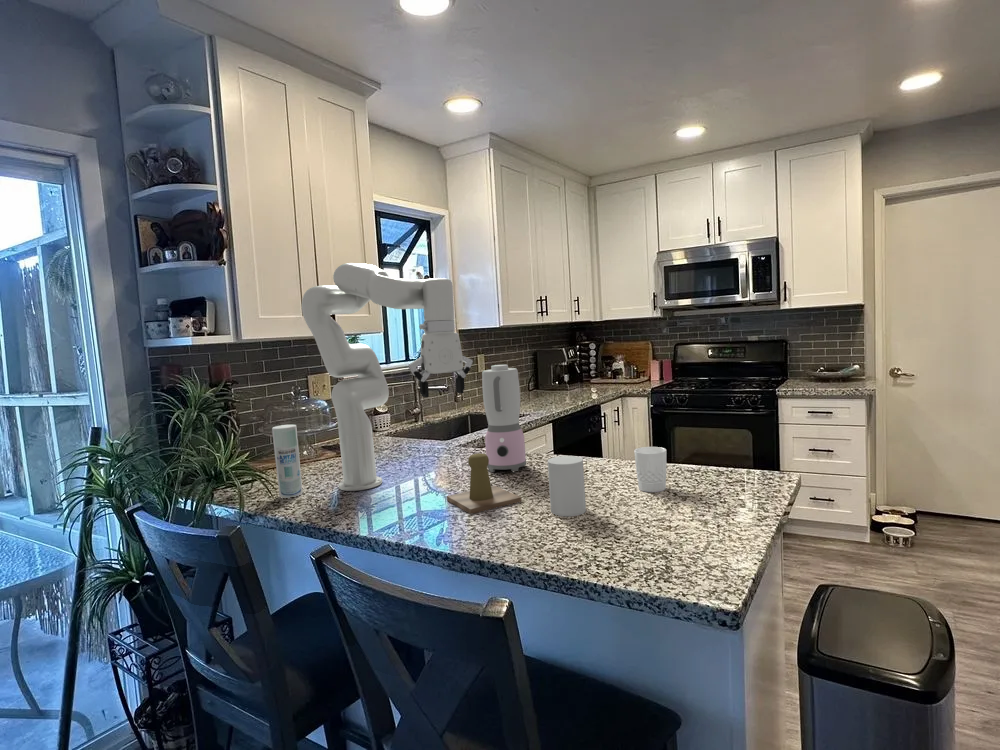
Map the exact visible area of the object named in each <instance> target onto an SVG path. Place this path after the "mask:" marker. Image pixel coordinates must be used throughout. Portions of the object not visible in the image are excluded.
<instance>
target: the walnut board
mask: <svg viewBox="0 0 1000 750" xmlns="http://www.w3.org/2000/svg"><path fill="white" fill-rule="evenodd" d="M491 488H492V493H493V497H492V498H490V499H487V500H481V501H475V500H471V499H470V490H468V491H463V492H459V493H454V494H450V495H446V501H447V502H449V503H451V505H454V506H456V507H458V508H460V509H461V510H463V511H464V512H466V513H468V514H470V515H472V514H477V513H481V511H482V512H484V511H485V510H486V511H490V510H494V509H497V508H496V507H498V508H501V506H503V507H505V505H507V506H510V505H509V504H511V505H514V504H513V503H515V504H518V503H517V502H519V503H522V497H521V496H520V495H518V494H514V493H513V492H510V491H508V490H506V489H503V488H501V487H500V486H496V485H491ZM493 508H494V509H493ZM489 509H490V510H489Z"/></svg>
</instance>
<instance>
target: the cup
mask: <svg viewBox="0 0 1000 750" xmlns="http://www.w3.org/2000/svg"><path fill="white" fill-rule="evenodd" d="M547 474H548V488H549V504H550V513H551V514H552V513H553V515H554V514H555V515H554V516H557V515H558V516H557V517H576V516H580V515H582V514H584V513H586V511H587V505H586V503H587V502H586V488H585V475H584V474H585V472H584V459H583V457H580V456H575V455H561V456H560V455H559V456H555V457H551V458H548V459H547Z"/></svg>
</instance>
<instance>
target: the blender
mask: <svg viewBox="0 0 1000 750" xmlns="http://www.w3.org/2000/svg"><path fill="white" fill-rule="evenodd" d="M490 367H491V368H490V369H486V370H485V369H484V370H483V371H482V372H481V377H482V378H481V379H482V385H481V387H482V398H483V406H484V412H485V416H486V420H487V424H488V425H487V431H486V433H485V436H484V441H485V442H484V443H485V454H486V455H487V456H488V459H489V464H488V466H487V469H488V472H490V471H491V472H490V473H492V472H494V473H495V472H496V470H510V471H512V472H513V471H518V472H519V468H521V467H524V466H526V465H527V459H526V442H525V435H524V432H523V429H522V428H521V425H520V411H521V389H520V388H521V387H520V379H519V372H518V369H517V368H516V367H515V368H514V367H510V368H509V365H508V364H495V365H491V366H490ZM512 472H511V473H512ZM513 473H514V472H513Z"/></svg>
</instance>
